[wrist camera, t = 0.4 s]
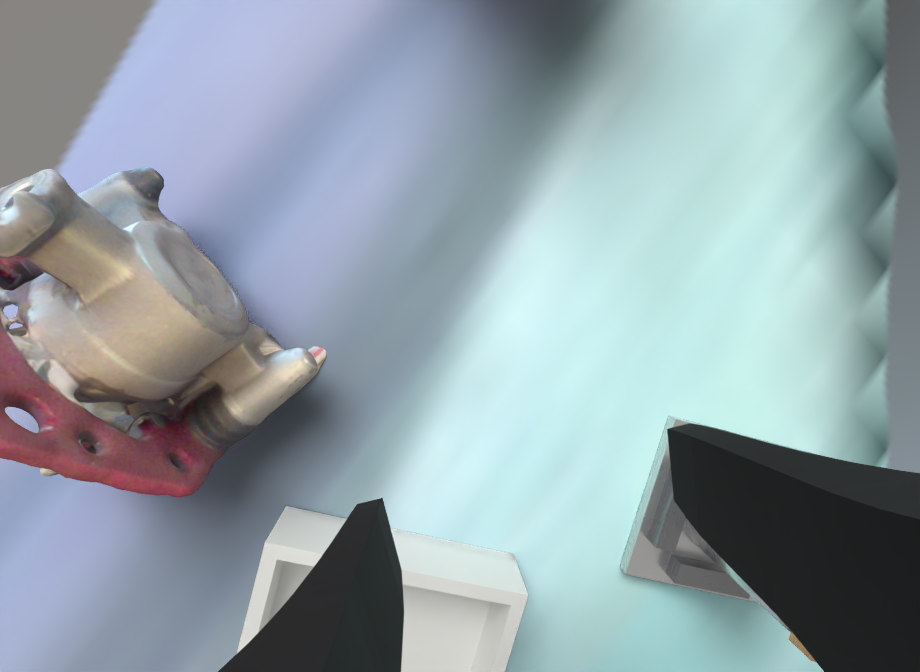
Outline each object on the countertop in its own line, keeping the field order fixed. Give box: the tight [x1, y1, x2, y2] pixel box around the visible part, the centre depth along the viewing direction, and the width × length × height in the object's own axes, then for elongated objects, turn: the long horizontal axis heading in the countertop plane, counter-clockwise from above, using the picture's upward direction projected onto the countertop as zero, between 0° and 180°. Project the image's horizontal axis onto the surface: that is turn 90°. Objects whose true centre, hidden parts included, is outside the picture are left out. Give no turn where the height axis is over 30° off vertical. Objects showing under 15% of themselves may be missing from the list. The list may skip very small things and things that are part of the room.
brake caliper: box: [0, 166, 326, 497], centre depth 16 cm, size 11×11×12 cm
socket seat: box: [620, 416, 809, 602], centre depth 22 cm, size 8×8×1 cm
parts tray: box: [237, 506, 528, 672], centre depth 21 cm, size 11×11×3 cm
